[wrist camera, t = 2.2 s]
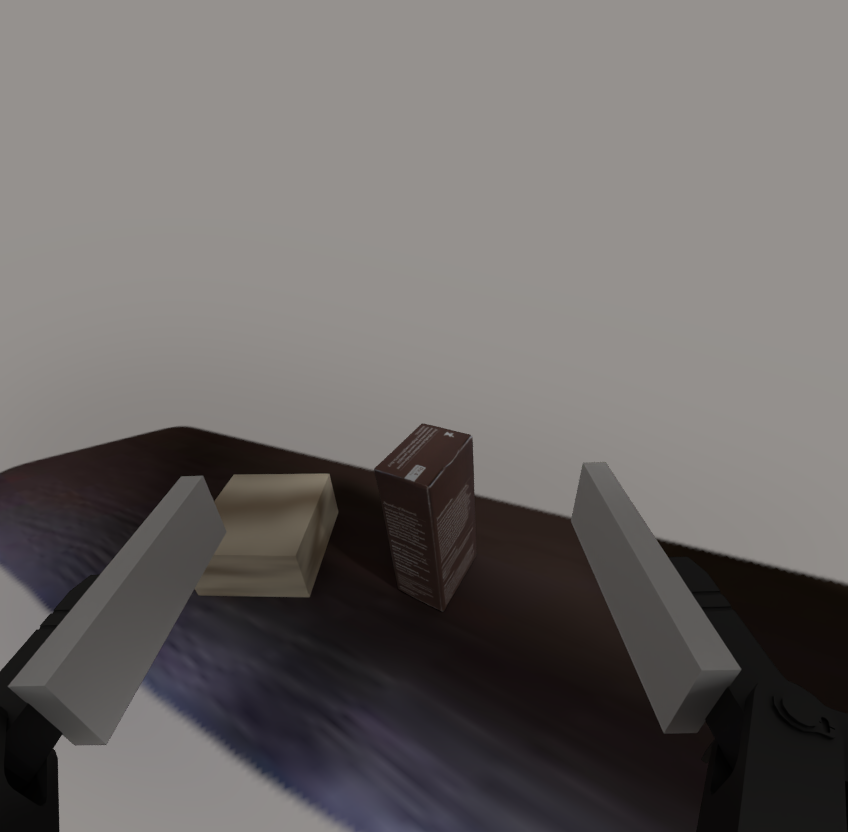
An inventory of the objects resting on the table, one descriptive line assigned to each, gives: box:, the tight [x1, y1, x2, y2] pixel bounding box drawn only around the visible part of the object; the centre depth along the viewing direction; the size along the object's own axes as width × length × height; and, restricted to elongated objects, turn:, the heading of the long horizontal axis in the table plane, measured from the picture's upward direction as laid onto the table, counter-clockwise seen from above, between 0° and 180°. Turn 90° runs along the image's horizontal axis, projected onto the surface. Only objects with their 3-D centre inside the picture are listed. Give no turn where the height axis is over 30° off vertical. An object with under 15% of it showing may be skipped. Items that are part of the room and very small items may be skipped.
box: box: [374, 424, 476, 611], centre depth 28 cm, size 6×4×12 cm
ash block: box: [195, 474, 338, 597], centre depth 33 cm, size 9×9×5 cm
